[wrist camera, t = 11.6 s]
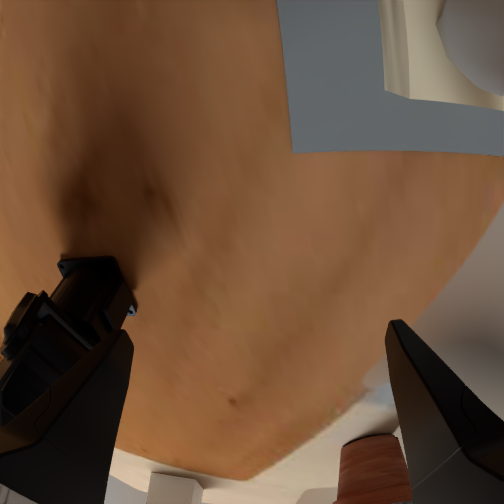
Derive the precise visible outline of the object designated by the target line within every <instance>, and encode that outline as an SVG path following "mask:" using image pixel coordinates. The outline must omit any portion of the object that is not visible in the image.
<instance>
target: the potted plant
mask: <svg viewBox="0 0 504 504" xmlns="http://www.w3.org/2000/svg"><path fill="white" fill-rule="evenodd" d="M411 490H412V489H411V485H410V478H409V472H408V468H407V465H406V462H405V459H404V455H403V452H402V449H401V446H400V443H399V440H398V437H395V436H394V435H379V436H372V437H368V438H364V439H360V440H358V441H355V442H352V443H350V444H348V445H346V446H345V447H343V448H342V449H341V457H340V471H339V482H338V494H337V501H335V502H333V504H413V500H412V492H411Z"/></svg>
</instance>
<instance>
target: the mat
mask: <svg viewBox="0 0 504 504" xmlns="http://www.w3.org/2000/svg"><path fill="white" fill-rule="evenodd" d="M276 1H277V8H278V16H279V23H280V31H281V40H282V48H283V57H284V66H285V75H286V85H287V95H288V106H289V117H290V128H291V140H292V152H293V153H308V152H330V151H375V150H391V151H435V152H455V153H471V154H484V155H495V156H504V111H501V110H495V109H490V108H484V107H478V106H471V105H464V104H457V103H448V102H440V101H429V100H418V99H409V98H406V97H403V96H400V95H398V94H395V93H392V92H389V91H386V90H385V87H384V64H383V49H382V36H381V26H380V16H379V8H378V0H276Z"/></svg>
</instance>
